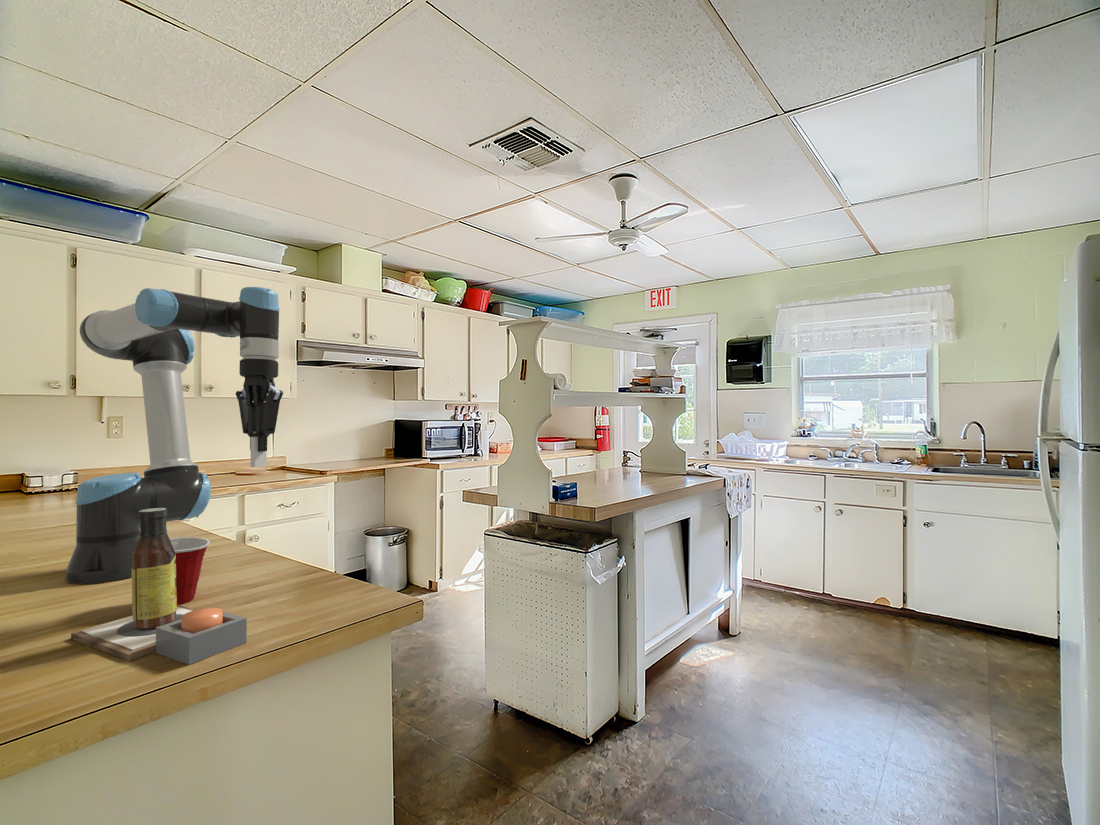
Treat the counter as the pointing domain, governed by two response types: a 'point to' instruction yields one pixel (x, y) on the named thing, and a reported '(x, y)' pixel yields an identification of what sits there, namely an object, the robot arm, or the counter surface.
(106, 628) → the board
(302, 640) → the counter surface
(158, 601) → the sauce bottle
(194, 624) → the button
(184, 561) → the plastic cup
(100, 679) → the counter surface
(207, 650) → the button housing
